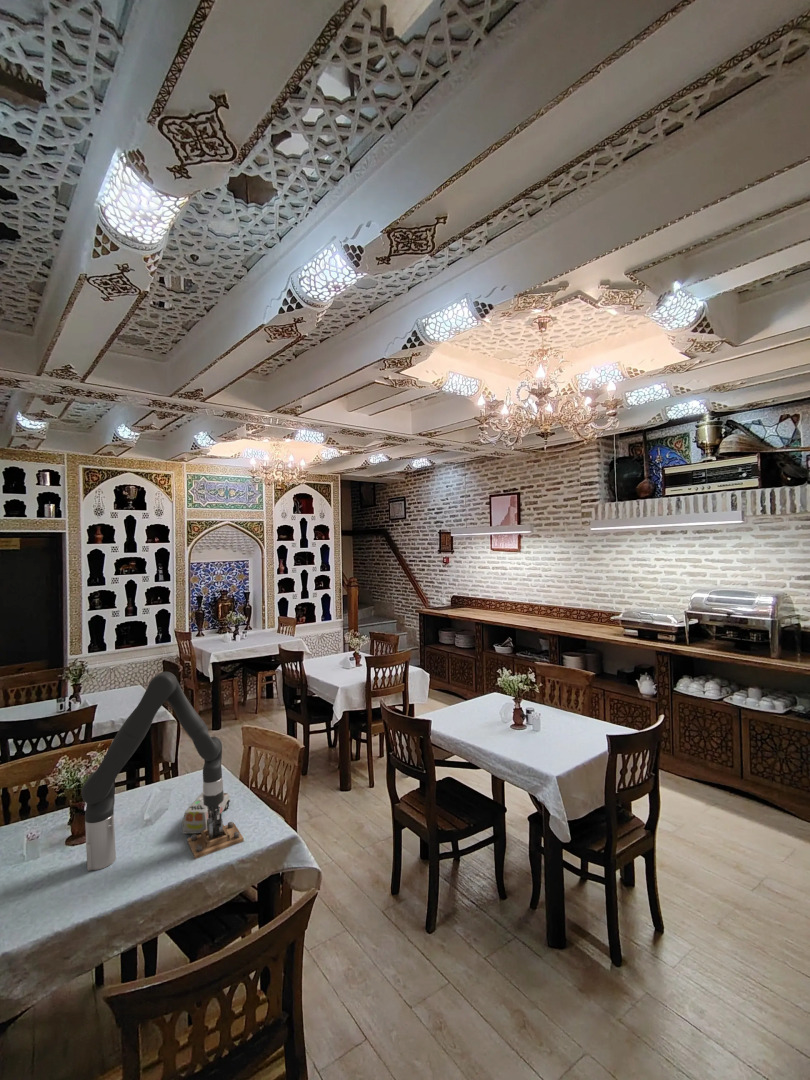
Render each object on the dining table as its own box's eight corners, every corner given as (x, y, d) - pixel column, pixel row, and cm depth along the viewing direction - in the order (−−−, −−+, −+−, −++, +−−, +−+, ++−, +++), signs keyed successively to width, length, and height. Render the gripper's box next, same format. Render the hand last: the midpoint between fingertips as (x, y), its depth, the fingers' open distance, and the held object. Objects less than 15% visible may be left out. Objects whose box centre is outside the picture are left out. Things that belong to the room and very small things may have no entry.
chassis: (195, 859, 190) (194, 850, 190) (187, 841, 202) (187, 833, 202) (243, 841, 200) (243, 833, 200) (233, 825, 212) (233, 817, 212)
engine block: (209, 839, 198) (209, 821, 198) (207, 834, 201) (206, 817, 201) (223, 834, 201) (222, 817, 201) (220, 830, 204) (219, 813, 204)
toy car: (231, 804, 229) (230, 782, 229) (207, 837, 205) (205, 812, 205) (208, 805, 230) (207, 783, 230) (181, 837, 205) (180, 812, 205)
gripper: (199, 786, 205) (201, 829, 205) (207, 800, 193) (209, 845, 193) (218, 780, 209) (220, 822, 209) (227, 794, 197) (229, 838, 197)
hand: (215, 833), depth 201 cm, fingers closed on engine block, 4 cm apart
